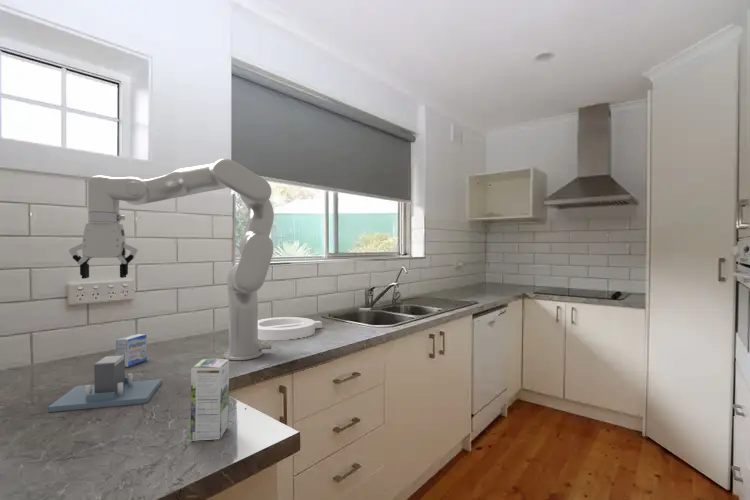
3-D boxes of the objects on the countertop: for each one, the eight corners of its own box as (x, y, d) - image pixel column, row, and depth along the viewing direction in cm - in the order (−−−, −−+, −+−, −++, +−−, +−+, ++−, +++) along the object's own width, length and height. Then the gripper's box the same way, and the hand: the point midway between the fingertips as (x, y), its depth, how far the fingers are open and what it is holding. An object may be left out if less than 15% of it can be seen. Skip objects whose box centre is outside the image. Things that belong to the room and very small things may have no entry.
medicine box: (127, 367, 123) (127, 339, 123) (115, 366, 124) (115, 339, 124) (147, 360, 131) (147, 334, 131) (135, 359, 132) (135, 333, 132)
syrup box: (200, 428, 82) (199, 358, 82) (229, 427, 83) (229, 357, 82) (189, 442, 76) (189, 367, 76) (221, 441, 77) (221, 366, 77)
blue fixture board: (161, 383, 109) (161, 368, 109) (146, 403, 95) (146, 385, 95) (76, 390, 104) (76, 374, 104) (48, 412, 90) (48, 393, 90)
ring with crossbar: (324, 328, 182) (324, 318, 182) (299, 343, 155) (299, 331, 155) (268, 326, 189) (268, 315, 188) (234, 339, 161) (234, 328, 161)
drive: (125, 385, 104) (124, 354, 104) (113, 396, 96) (113, 363, 96) (107, 386, 103) (107, 355, 103) (94, 398, 95) (94, 364, 95)
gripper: (141, 220, 122) (141, 276, 122) (75, 219, 118) (76, 277, 118) (133, 218, 115) (133, 278, 115) (63, 217, 110) (63, 279, 110)
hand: (104, 277), depth 116 cm, fingers open, 9 cm apart
